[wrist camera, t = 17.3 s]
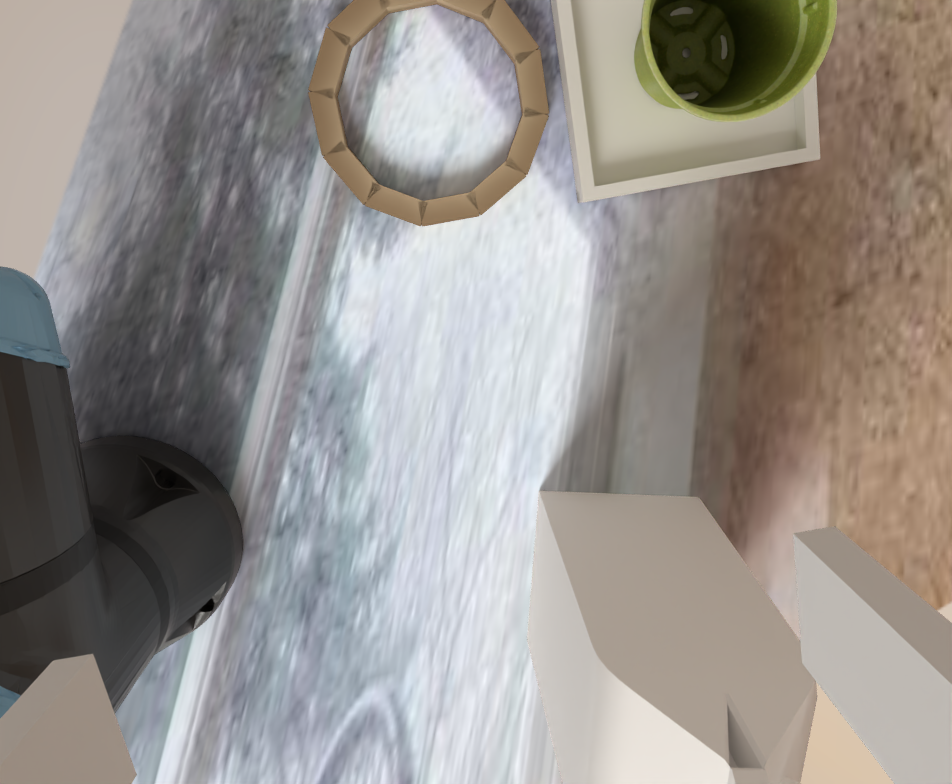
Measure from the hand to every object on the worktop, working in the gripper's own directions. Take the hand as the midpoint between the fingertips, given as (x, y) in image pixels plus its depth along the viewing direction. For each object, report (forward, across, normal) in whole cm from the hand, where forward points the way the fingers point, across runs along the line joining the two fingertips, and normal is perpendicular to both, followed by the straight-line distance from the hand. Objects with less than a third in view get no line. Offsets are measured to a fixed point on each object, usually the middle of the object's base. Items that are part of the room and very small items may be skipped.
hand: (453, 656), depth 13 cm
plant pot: (+34, +16, +14) cm, 41 cm away
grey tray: (+35, +16, +14) cm, 41 cm away
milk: (+35, +8, -19) cm, 41 cm away
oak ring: (+35, +1, +14) cm, 38 cm away
